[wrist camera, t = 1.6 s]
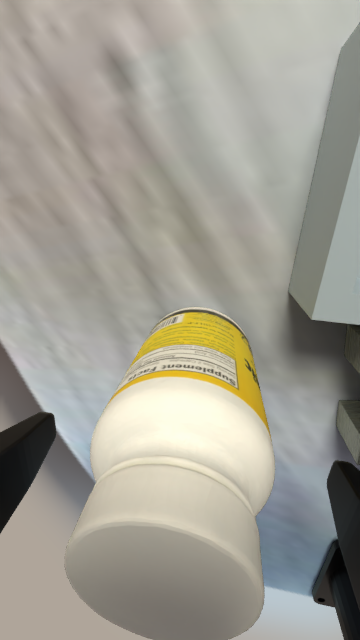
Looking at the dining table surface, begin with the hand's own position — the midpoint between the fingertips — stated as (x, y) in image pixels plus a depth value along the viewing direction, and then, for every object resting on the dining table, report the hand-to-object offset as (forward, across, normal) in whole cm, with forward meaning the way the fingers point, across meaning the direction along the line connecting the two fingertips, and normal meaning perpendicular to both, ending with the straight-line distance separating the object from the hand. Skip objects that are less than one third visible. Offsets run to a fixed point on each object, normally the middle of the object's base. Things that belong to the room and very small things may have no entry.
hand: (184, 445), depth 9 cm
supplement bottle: (+6, 0, 0) cm, 6 cm away
